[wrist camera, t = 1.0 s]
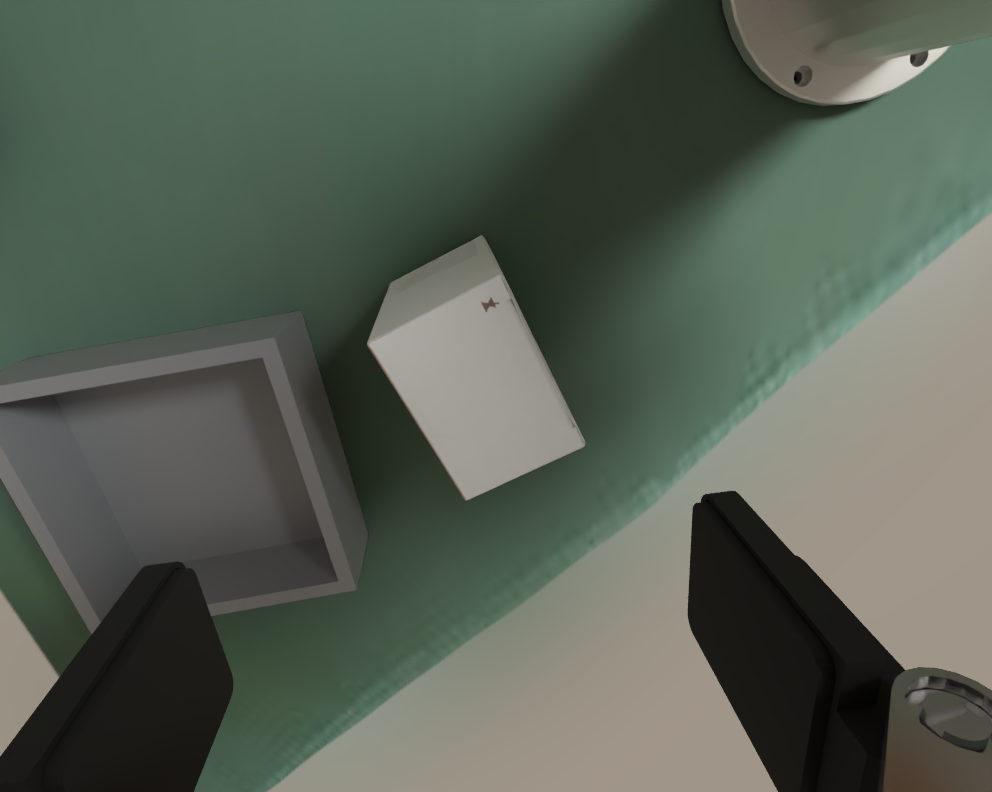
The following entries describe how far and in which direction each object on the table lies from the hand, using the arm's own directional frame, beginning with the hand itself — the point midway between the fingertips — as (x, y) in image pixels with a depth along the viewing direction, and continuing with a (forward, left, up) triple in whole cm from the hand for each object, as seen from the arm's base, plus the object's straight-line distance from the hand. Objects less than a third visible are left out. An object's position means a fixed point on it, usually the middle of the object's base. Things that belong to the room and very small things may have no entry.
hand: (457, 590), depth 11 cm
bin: (+15, +6, -22) cm, 27 cm away
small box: (-1, +1, -22) cm, 22 cm away
